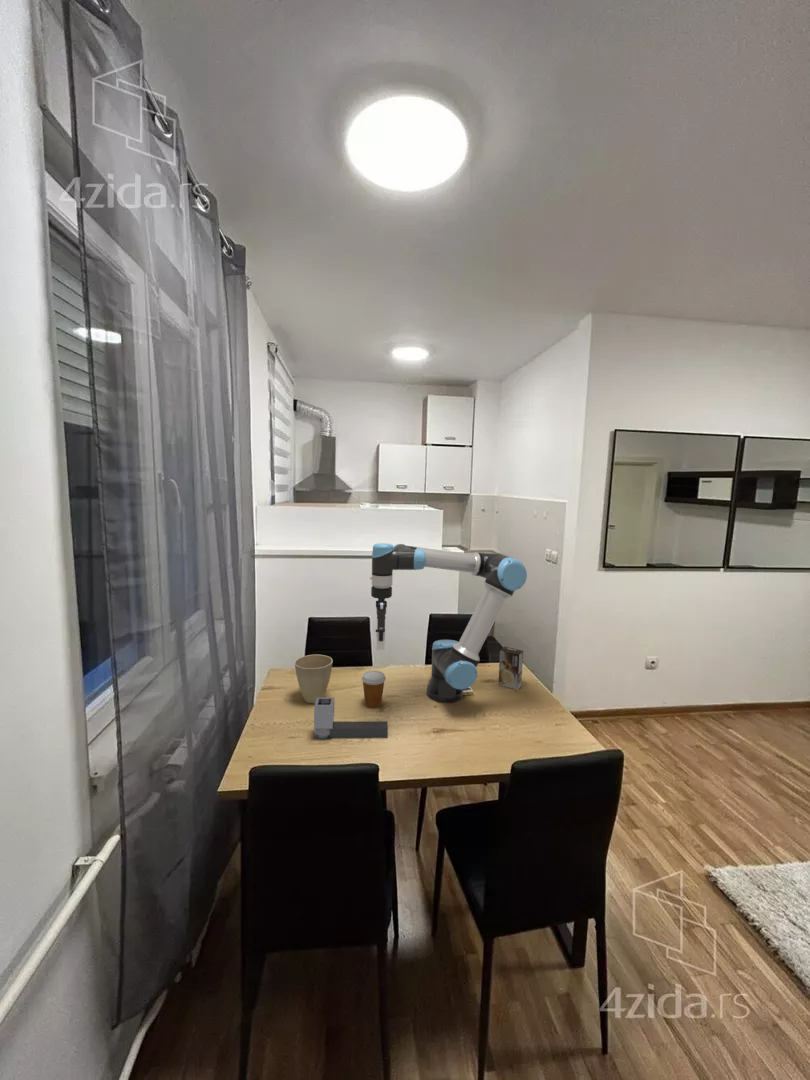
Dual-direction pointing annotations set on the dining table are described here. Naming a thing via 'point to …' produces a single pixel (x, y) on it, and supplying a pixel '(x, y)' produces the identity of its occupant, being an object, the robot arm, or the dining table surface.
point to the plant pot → (313, 676)
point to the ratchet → (354, 730)
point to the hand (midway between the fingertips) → (380, 642)
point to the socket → (324, 713)
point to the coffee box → (510, 667)
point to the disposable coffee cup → (373, 687)
